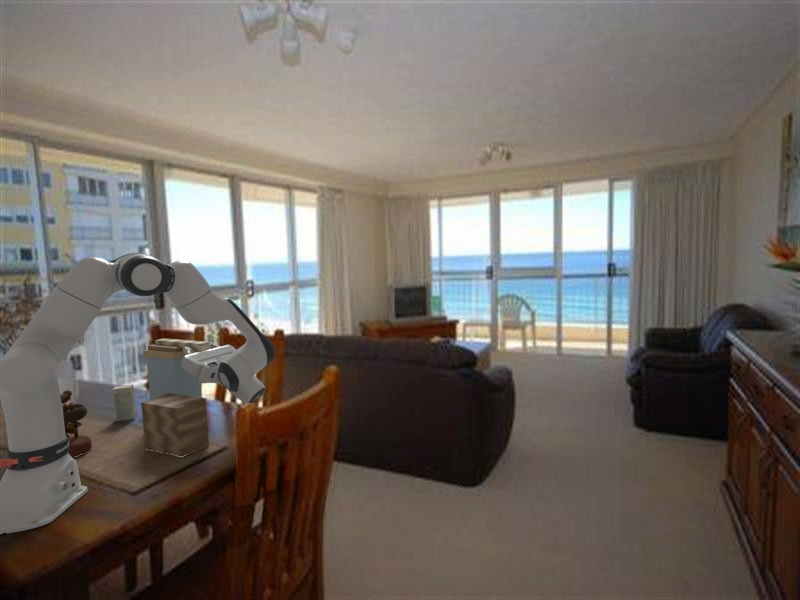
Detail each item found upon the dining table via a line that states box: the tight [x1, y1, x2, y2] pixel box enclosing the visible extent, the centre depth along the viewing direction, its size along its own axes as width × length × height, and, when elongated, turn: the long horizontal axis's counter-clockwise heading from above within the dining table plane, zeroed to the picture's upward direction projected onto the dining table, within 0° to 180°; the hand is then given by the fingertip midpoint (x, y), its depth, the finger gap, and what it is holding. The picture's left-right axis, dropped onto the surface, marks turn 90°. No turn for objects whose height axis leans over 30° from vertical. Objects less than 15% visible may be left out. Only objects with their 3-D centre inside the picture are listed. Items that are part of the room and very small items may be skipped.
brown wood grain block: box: [141, 393, 210, 456], centre depth 143 cm, size 16×10×15 cm, turn 65°
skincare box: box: [111, 383, 138, 422], centre depth 171 cm, size 6×4×12 cm
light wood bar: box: [155, 338, 210, 352], centre depth 160 cm, size 22×4×3 cm, turn 65°
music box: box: [60, 389, 93, 457], centre depth 142 cm, size 15×11×20 cm
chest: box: [143, 344, 203, 400], centre depth 164 cm, size 15×11×28 cm
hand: (196, 346), depth 157 cm, fingers open, 8 cm apart
